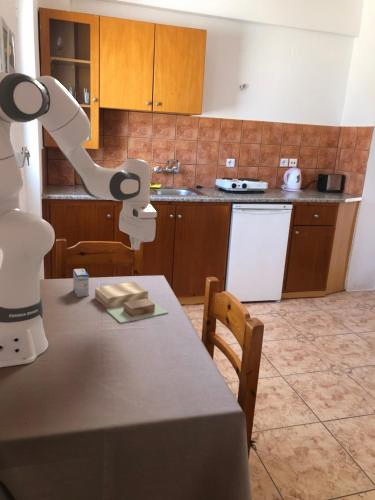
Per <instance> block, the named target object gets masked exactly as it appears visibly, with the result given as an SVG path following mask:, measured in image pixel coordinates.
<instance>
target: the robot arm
mask: <svg viewBox="0 0 375 500" xmlns="http://www.w3.org/2000/svg"><path fill="white" fill-rule="evenodd" d="M88 117H89V116H88V115H87V113H86V112H85V111H84V109H83V108H82V107H81V105H80V104H79V103H78V101H77V100H76V99H75V98H74V96H73V95H72V94H71V93H70V92H69V91H68V90H67V88H66V87H65V86H64V85H63V84H61V82H59V80H57V79H56V78H55V77H53V76H50V75H42V76H39V77H36V78H33V77H31V76H30V75H27V74H26V73H25V74H24V73H21V72H13V73H11V72H10V73H8V72H3V71H2V72H0V250H1V251H2V261H1V264H0V368H4V367H12V366H17V365H18V366H19V365H25V364H31V363H33V362H34V361H35V360H36V358H37V357H39V356H40V355H41V354H43V353H44V352H46V350H47V349H48V347H49V342H48V340H47V336H46V333H45V329H44V325H43V314H44V310H43V309H44V308H43V307H44V306H43V301H42V298H41V292H40V291H41V288H40V281H41V280H40V274H41V266H42V262H43V259H44V257H45V255H47V254H48V253H49V252H50V251H51V250H52V248H53V245H54V243H55V240H56V239H55V237H56V235H55V229H54V227H53V226H52V224H50V223H49V222H48V221H46V220H45V218H44V219H43V218H42V217H40V216H38V215H37V214H33V213H29V212H25V211H23V210H22V208H21V206H20V205H21V204H20V192H21V191H22V189H23V186H24V181H23V177H22V174H21V170H20V167H19V164H18V160H17V156H16V153H15V149H14V147H13V145H12V141H11V133H10V132H11V126H12V123H29V122H33V121H35V120H37V121H39V123H40V125H42V127H43V128H44V129H45V130H46V131H47V133H48V135H50V137H52V139H53V141H55V143H56V145H57V146H58V149H59V150H60V152H61V154H62V155H63V156H64V157H65V159H66V160H67V161H68V163H69V165H70V166H71V167H72V169H73V170H74V172H75V173H76V174H77V176H78V178H79V180H80V183H81V186H82V188H83V190H84V192H85V193H86V194H87V196H89V197H91V198H96V199H97V198H98V199H104V200H105V199H106V200H110V201H111V200H112V201H115V202H116V201H117V202H122V209H121V210H120V212H119V216H118V218H119V219H118V229H119V231H121V232H123V233H124V234H127V235H129V240H130V245H131V246H130V249H133V250H135V251H139V250H140V249H141V248H140V247H141V243H142V242H143V243H147V242H148V243H149V242H153V241H154V240H155V237H156V230H157V228H156V227H157V226H156V225H157V223H156V219H155V218H157V216H158V212H157V211H156V210H155V208H154V207H153V206H152V204H151V198H150V189H151V178H152V177H151V167H150V164H149V162H148V161H146V160H144V159H141V158H135V157H128V158H126V159H125V161H124V162H123V163H122V164H120V165H119V166H116V167H114V168H110V167H109V168H108V167H103V166H101V165H98V164H96V163H95V162H94V160H93V159H92V157H91V156H90V154H89V152H87V150H86V148H85V147H84V145H83V144H85V142H87V140H88V139H89V136H90V134H91V128H92V124H91V122H90V119H89V118H88Z"/></svg>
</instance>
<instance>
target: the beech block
mask: <svg viewBox="0 0 375 500" xmlns="http://www.w3.org/2000/svg"><path fill="white" fill-rule="evenodd" d="M94 298H95V299H96V300H97V301H98V302H100V304H102V306H104V307H105V308H106V309H110V308H115V307H120V306H124V303H125V302H130V301H136V300H141V299H146V298H147V299H148V300H149V290H147V289H146V288H144V287H143V286H141V285H140V284H138V283H137V282H136V281H129V282H124V283H123V282H122V283H116V284H111V285H104V286H97V287H94Z"/></svg>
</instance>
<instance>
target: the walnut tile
mask: <svg viewBox="0 0 375 500" xmlns="http://www.w3.org/2000/svg"><path fill="white" fill-rule="evenodd" d="M151 301H152V300H150V299H149V298H148V299H147V298H146V299H141V300H136V301H130V302H125V303H124V307H123V311H124V312H125V313H127V314H128V315H129V316H130V317H134V316H139V315H144V314H149V313H154V312H155V304H154V303H152V302H151Z"/></svg>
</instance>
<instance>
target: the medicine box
mask: <svg viewBox="0 0 375 500" xmlns="http://www.w3.org/2000/svg"><path fill="white" fill-rule="evenodd" d="M72 272H73V273H72V274H73V275H72V280H73V281H72V285H73V288H72V289H73V292H74V293H75V295H76V297H77V298H79V297H80V298H81V297H88V296H89V293H90V291H89V290H90V289H89V288H90V287H89V274H88V272H87V271H86V269H85V268H75V269H72Z"/></svg>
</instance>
